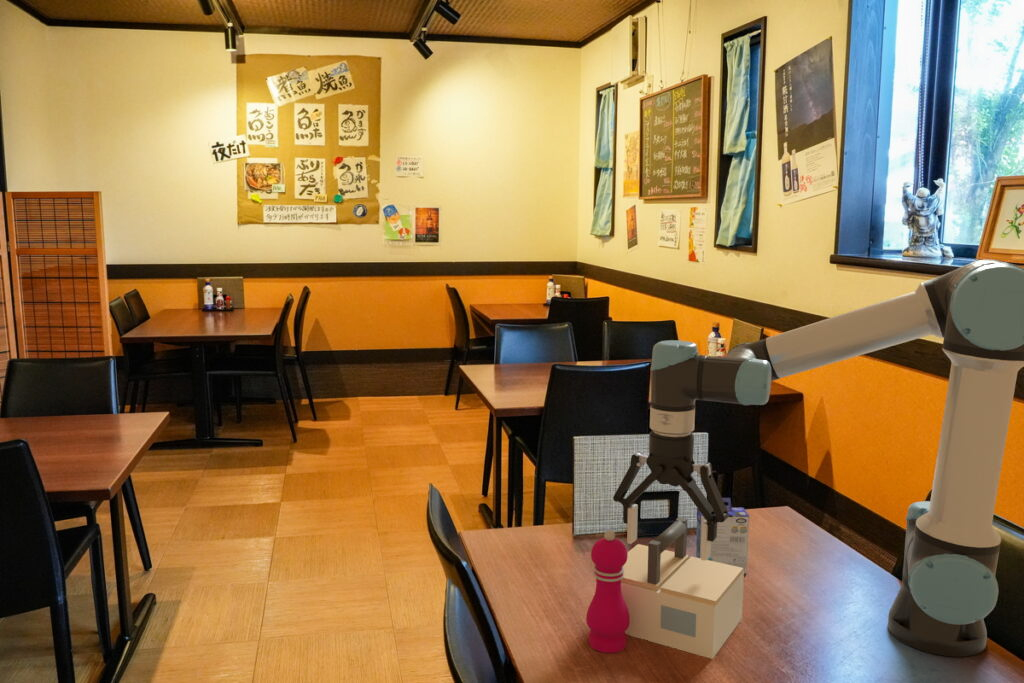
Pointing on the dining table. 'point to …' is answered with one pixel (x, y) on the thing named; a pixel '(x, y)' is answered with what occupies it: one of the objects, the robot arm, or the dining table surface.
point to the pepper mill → (608, 596)
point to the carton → (688, 607)
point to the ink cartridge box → (728, 538)
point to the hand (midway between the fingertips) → (668, 549)
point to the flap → (657, 558)
